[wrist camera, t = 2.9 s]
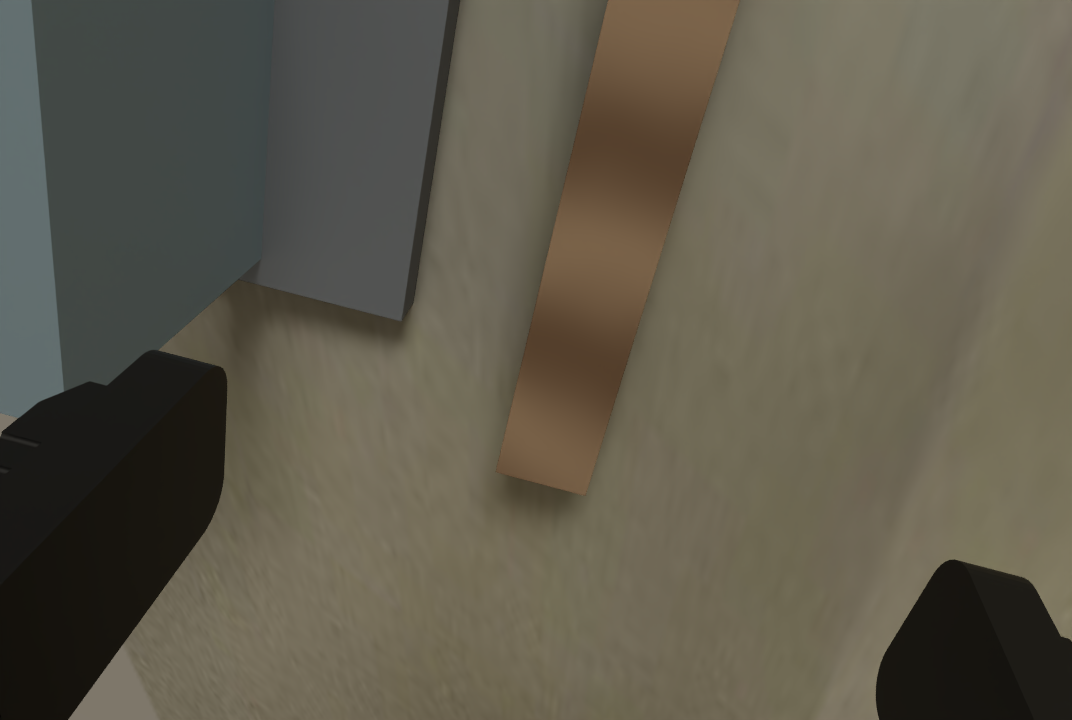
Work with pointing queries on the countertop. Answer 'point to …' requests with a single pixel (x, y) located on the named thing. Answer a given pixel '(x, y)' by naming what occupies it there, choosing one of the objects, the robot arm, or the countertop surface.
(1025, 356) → the countertop surface
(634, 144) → the light wood bar
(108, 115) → the stand
